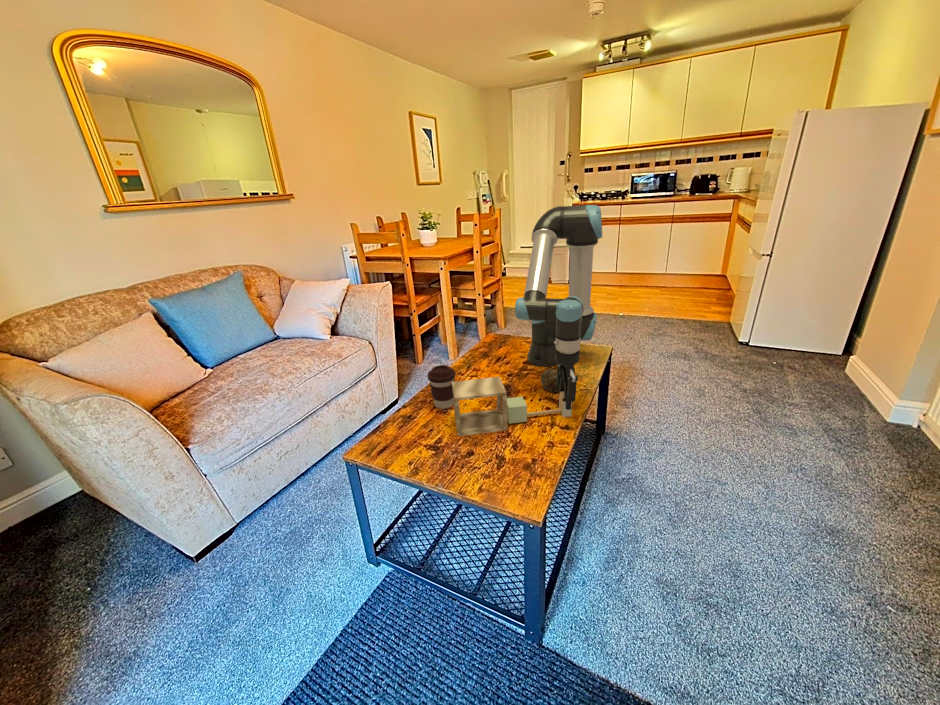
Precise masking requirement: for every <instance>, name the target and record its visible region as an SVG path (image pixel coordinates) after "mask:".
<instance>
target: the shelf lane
mask: <svg viewBox="0 0 940 705" xmlns="http://www.w3.org/2000/svg"><path fill="white" fill-rule="evenodd" d="M452 390H453V401H454V405H453V413H454V418H455V419H454V420H455V426H456V431H457V437H463V436H472V435H481V434H488V433H495V432H503V431H508V419H507V398H508V397H507V391H506V387H505V386H504V384H503V381H502V379H501V377H500V376H494V377H484V378H475V379H468V380H458V381H455V382H452ZM488 397H489V398H490V397H496V404H497V405H496V407H497V408H495V409H488V410H480V411H473V412H472V411H471V412H465V413H464V412H463V413H461V411H460V402H459V401H463V400H471V399H472V400H473V399H480V398H488Z"/></svg>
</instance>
